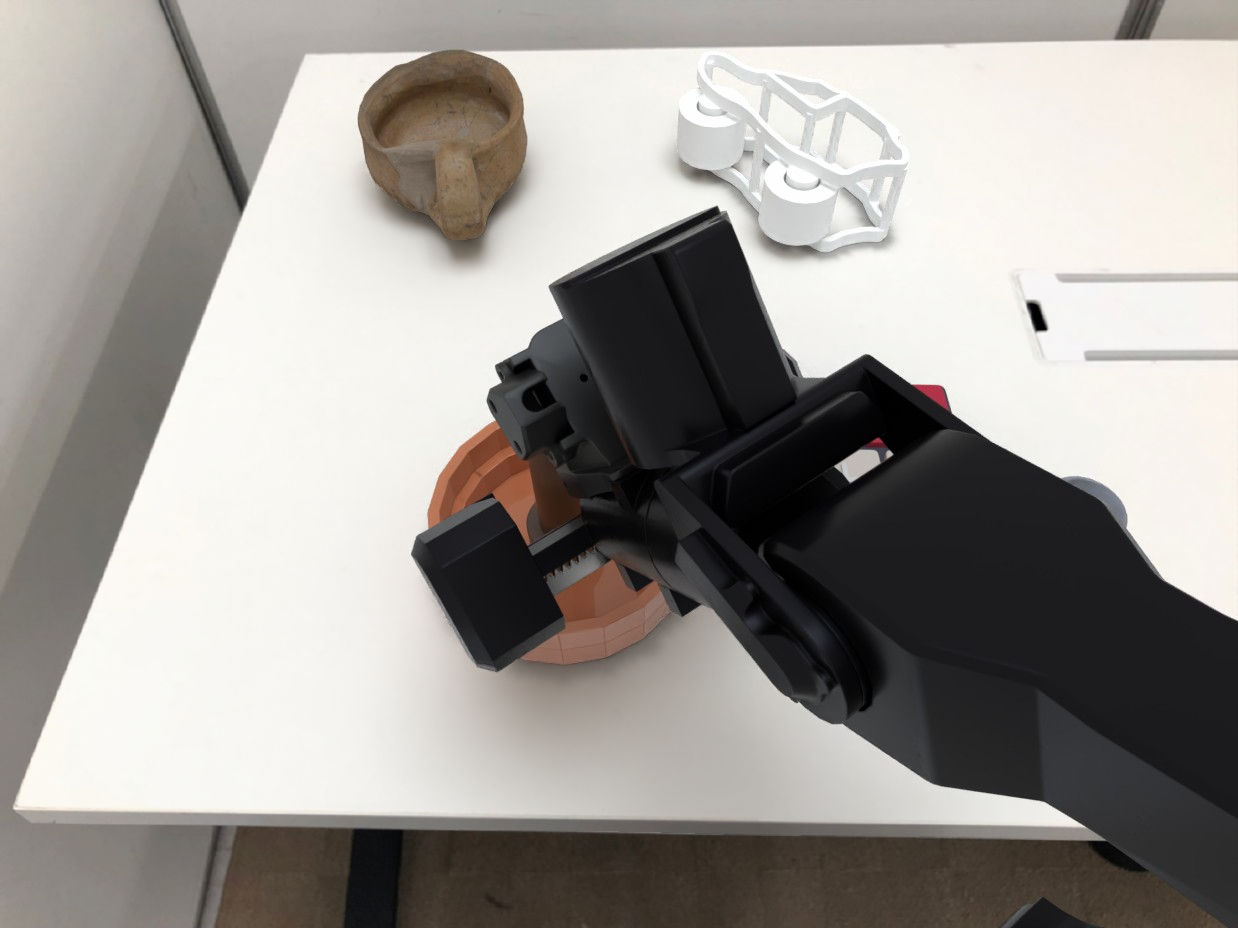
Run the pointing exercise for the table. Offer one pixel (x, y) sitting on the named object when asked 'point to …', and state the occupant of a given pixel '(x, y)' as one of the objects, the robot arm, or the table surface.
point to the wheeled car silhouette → (788, 153)
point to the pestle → (549, 500)
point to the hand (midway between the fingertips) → (568, 477)
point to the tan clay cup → (445, 137)
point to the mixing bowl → (591, 607)
